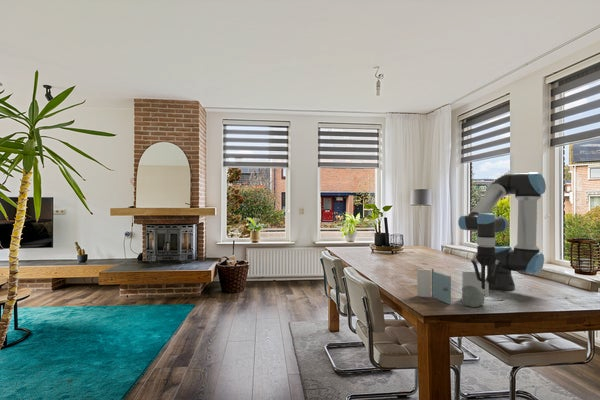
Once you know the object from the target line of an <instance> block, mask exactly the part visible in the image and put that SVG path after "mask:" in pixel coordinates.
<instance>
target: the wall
mask: <svg viewBox="0 0 600 400" xmlns="http://www.w3.org/2000/svg"><path fill="white" fill-rule="evenodd" d="M416 270H417V271H416V276H417V277H416V278H417V279H416V280H417V281H416V282H417V283H416V284H417V285H416V292H417V294H416V296H417V297H422V298H423V297H424V298H434V297H433V271H435V270H434V268H432V269H428V268H417V269H416ZM461 272H462V273H461V274H462V275H461V279H462V282H461V283H462V284H461V289H462V288H463V287H464V286H473V287H476V288H477V289H478V290H480V291H481V292H482V293H483V295H484V289H482V287H481V281H479V280H478V279H477V277H476V273H475V271H469V270H468V271H467V270H462V271H461ZM479 274H480V278H481V271H479ZM451 300H462V297H461V298H460V297H451Z"/></svg>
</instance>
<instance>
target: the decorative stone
mask: <svg viewBox="0 0 600 400" xmlns="http://www.w3.org/2000/svg"><path fill="white" fill-rule="evenodd" d="M461 291H462V292H461V293H462V294H461V298H462V299H461V300H462V302H463V305H464V306H466V307H471V308H479V307H482V306H483V305H484V304H485V298H486V297H485V296H484V295H483V293H482V292H481V291H480V290H478V289H477V288H476V287H473V286H464V287H463V288H462V287H461Z"/></svg>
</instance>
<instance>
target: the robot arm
mask: <svg viewBox="0 0 600 400" xmlns="http://www.w3.org/2000/svg"><path fill="white" fill-rule="evenodd" d="M546 187H547V186H546V181H545V178H544V176H543V174H542V173H540V172H537V171H536V172H533V171H532V172H531V171H529V172H517V173H513V172H512V173H506V174H504V175H501V176H500V177H498V178H496V179H494V181H492V183H490V185H489V186H488V187H487V191H486V192H485V194H484V195H483V196H481V198H480V199H479V201H478V203H476V205H475V206H474V207H473V209H471V211H470V212H469V213H468V214H467V215H461V216H459V218H458V221H457V222H458V223H457V225H458V227H459V229H460V230H463V231H470V232H471V231H472V232H473V231H474V232H477V233H476V234H477V237H476V238H477V239H476V244H477V247H476V248H477V249H476V252H477V253H476V256H475V258H474V259H470V261H471V262H470V263H472V266H473V268H474V272H475V273H476V277H477V279H478V280H479V281H481V287H482V289H484V297H485V298H489V290H497V291H513V290H516V284H515V281H514V279H513V276H512V272H517V273H524V274H527V275H528V274H530V275H537V274H539V273H540V272H541V271H542V269H543V267H544V264H545V257H544V256H545V255H544V254H543V253H542V252H540V248H539V247H538V246H537V230H538V229H537V223H538V221H537V220H538V200H540V199H541V198H542V197H541V195H543V194H545V192H546V189H547V188H546ZM507 195H514V197H515V199H516V200H517V202H518V203H517V233H516V234H517V237H516V238H517V240H516V242H517V243H516V244H515V245H514V246H513V248H512V247H511V246H496V233H503V232H506V231H507V230H508V229H509V228H510V227H509V226H510V225H509V224H510V223H509V221H508V219H507V218H505V217H503V216H496V215H495V214H494V213H491V212H492V210H493V209H494V208H495V206H497V204H498V203H499V201H500V200H501V199H504V198H505V196H507ZM478 264H479V265H480V268H481V269H480V270H479V268H478ZM479 272H481V278H480V274H479Z"/></svg>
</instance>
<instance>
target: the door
mask: <svg viewBox="0 0 600 400" xmlns="http://www.w3.org/2000/svg"><path fill="white" fill-rule="evenodd" d="M432 298H434V299H436V300H439V301H441V302H444V303H446V304H447V305H451V304H452V299H451V298H452V277H451V276H450V275H448V274H444V273H441V272H438V271H435V270H434V271H433V297H432Z"/></svg>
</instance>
